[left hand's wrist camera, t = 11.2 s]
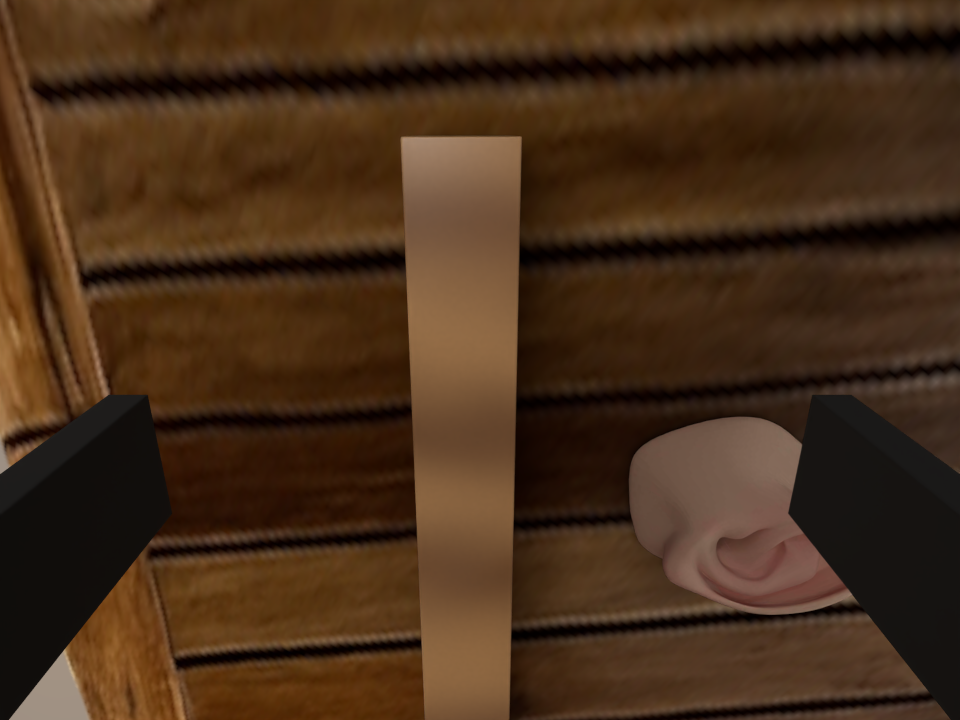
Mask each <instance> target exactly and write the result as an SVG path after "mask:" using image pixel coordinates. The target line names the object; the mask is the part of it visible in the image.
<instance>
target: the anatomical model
mask: <svg viewBox="0 0 960 720" xmlns="http://www.w3.org/2000/svg"><path fill="white" fill-rule="evenodd" d="M801 448H802V444H801V443H800V442H799V441H798V440H797V439H795V438H794V437H793V436H792V435H791V434H790V433H789V432H787V431H786V430H784V429H783V428H782V427H780V426H778V425H776V424H775V423H772V422H770V421H768V420H764V419H761V418H754V417H729V418H720V419H715V420H709V421H705V422H701V423H697V424H693V425H690V426H686V427H683V428H680V429H677V430H674V431H671V432H668V433H666V434H664V435H661V436H659V437H656V438H654V439H652V440H650V441H649V442H647V443H646V444H644V445H643V446H642V447H641V448H640V449H639V450H638V451H637V452H636V453H635V455H634V457H633V459H632V461H631V466H630V473H629V503H630V513H631V517H632V521H633V526H634V530H635V534H636V536H637V539H638V541H639V542H640V544H641V545H642V546H643V547H644V548H645V549H646V550H648V551H649V552H650V553H652V554H654V555H655V556H657V557H659V558H661V559H663V562H662V564H663V570H664V573H665V575H666V576H667V578H668V579H669V580H670V581H671V582H672V583H674V584H676V585H678V586H680V587H682V588H684V589H687V590H689V591H692V592H694V593H697V594H699V595H701V596H704V597H706V598H708V599H711V600H713V601H715V602H718V603H720V604H723V605H726V606H728V607H731V608H734V609H737V610H741V611H745V612H749V613H756V614H768V615H775V614H791V613H799V612H806V611H811V610H815V609H819V608H823V607H826V606H829V605H832V604H834V603H837V602H839V601H841V600H844V599H846V598H848V597H849V596H851V595H852V594H851V592H850V591H849V590H848V589H847V587H846V586H845V585H844V584H843V582H842V581H841V580H840V579H839V577H838V576H837V575H836V573H835V572H834V571H833V570H832V568H831V567H830V566H829V565H828V563H827V562H826V561H825V560H824V558H823V557H822V556H821V555H820V553H819V552H818V551H817V549H816V548H815V547H814V546H813V544H812V543H811V542H810V541H809V539H808V538H807V537H806V536H805V534H804V533H803V532H802V530H801V529H800V528H799V527H798V525H797V524H796V523H795V522H794V520H793V519H792V518H791V517H790V515H789V514H788V511H789V506H790V501H791V496H792V492H793V487H794V482H795V477H796V472H797V467H798V463H799V458H800V453H801Z"/></svg>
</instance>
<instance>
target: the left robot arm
mask: <svg viewBox="0 0 960 720" xmlns="http://www.w3.org/2000/svg"><path fill="white" fill-rule="evenodd" d="M171 514H172V511H171V506H170V501H169V496H168V492H167V487H166V482H165V477H164V472H163V467H162V463H161V458H160V453H159V448H158V443H157V438H156V434H155V429H154V424H153V419H152V414H151V409H150V404H149V400H148V395H108V396H107V397H105V398H104V399H103V400H101V401H100V402H98V403H97V404H96V405H94V406H93V407H92V408H90V409H89V410H88V411H86V412H85V413H83V414H82V415H81V416H79V417H78V418H77V419H75V420H74V421H72V422H71V423H70V424H68V425H67V426H66V427H64V428H63V429H61V430H60V431H59V432H57V433H56V434H55V435H53V436H52V437H51V438H49V439H48V440H46V441H45V442H44V443H42V444H41V445H40V446H38V447H37V448H35V449H34V450H33V451H31V452H30V453H29V454H27V455H26V456H25V457H23V458H22V459H20V460H19V461H18V462H16V463H15V464H14V465H12V466H11V467H9V468H8V469H7V470H5V471H4V472H3V473H1V474H0V720H9V719H10V718H11V716H12V715H13V714H14V713H15V711H16V710H17V709H18V708H19V706H20V705H21V704H22V702H23V701H24V700H25V699H26V697H27V696H28V695H29V694H30V692H31V691H32V690H33V689H34V687H35V686H36V685H37V683H38V682H39V681H40V680H41V678H42V677H43V676H44V675H45V673H46V672H47V671H48V670H49V668H50V667H51V666H52V665H53V663H54V662H55V661H56V659H57V658H58V657H59V656H60V654H61V653H62V652H63V651H64V649H65V648H66V647H67V646H68V644H69V643H70V642H71V641H72V639H73V638H74V637H75V635H76V634H77V633H78V632H79V630H80V629H81V628H82V627H83V625H84V624H85V623H86V622H87V620H88V619H89V618H90V616H91V615H92V614H93V613H94V611H95V610H96V609H97V608H98V606H99V605H100V604H101V603H102V601H103V600H104V599H105V598H106V596H107V595H108V594H109V592H110V591H111V590H112V589H113V587H114V586H115V585H116V584H117V582H118V581H119V580H120V579H121V577H122V576H123V575H124V573H125V572H126V571H127V570H128V568H129V567H130V566H131V565H132V563H133V562H134V561H135V560H136V558H137V557H138V556H139V555H140V553H141V552H142V551H143V549H144V548H145V547H146V546H147V544H148V543H149V542H150V541H151V539H152V538H153V537H154V536H155V534H156V533H157V532H158V530H159V529H160V528H161V527H162V525H163V524H164V523H165V522H166V520H167V519H168V518H169V517H170V515H171ZM788 514H789V515H790V517H791V518H792V519H793V520H794V522H795V523H796V524H797V525H798V527H799V528H800V529H801V530H802V532H803V533H804V534H805V536H806V537H807V538H808V539H809V541H810V542H811V543H812V544H813V546H814V547H815V548H816V549H817V551H818V552H819V553H820V555H821V556H822V557H823V558H824V560H825V561H826V562H827V563H828V565H829V566H830V567H831V568H832V570H833V571H834V572H835V573H836V575H837V576H838V577H839V579H840V580H841V581H842V582H843V584H844V585H845V586H846V587H847V589H848V590H849V591H850V592H851V594H852V595H853V596H854V598H855V599H856V600H857V601H858V603H859V604H860V605H861V606H862V608H863V609H864V610H865V611H866V613H867V614H868V615H869V616H870V618H871V619H872V620H873V622H874V623H875V624H876V625H877V627H878V628H879V629H880V630H881V632H882V633H883V634H884V635H885V637H886V638H887V639H888V641H889V642H890V643H891V644H892V646H893V647H894V648H895V649H896V651H897V652H898V653H899V654H900V656H901V657H902V658H903V659H904V661H905V662H906V663H907V665H908V666H909V667H910V668H911V670H912V671H913V672H914V673H915V675H916V676H917V677H918V678H919V680H920V681H921V682H922V684H923V685H924V686H925V687H926V689H927V690H928V691H929V692H930V694H931V695H932V696H933V697H934V699H935V700H936V701H937V702H938V704H939V705H940V706H941V708H942V709H943V710H944V711H945V713H946V714H947V715H948V716H949V718H950V719H951V720H960V474H959V473H957V472H956V471H955V470H953V469H952V468H951V467H949V466H948V465H946V464H945V463H944V462H942V461H941V460H940V459H938V458H937V457H935V456H934V455H933V454H931V453H930V452H929V451H927V450H926V449H925V448H923V447H922V446H920V445H919V444H918V443H916V442H915V441H914V440H912V439H911V438H909V437H908V436H907V435H905V434H904V433H903V432H901V431H900V430H899V429H897V428H896V427H894V426H893V425H892V424H890V423H889V422H888V421H886V420H885V419H883V418H882V417H881V416H879V415H878V414H877V413H875V412H874V411H872V410H871V409H870V408H868V407H867V406H866V405H864V404H863V403H862V402H860V401H859V400H857V399H856V398H855V397H853V396H852V395H812V400H811V404H810V409H809V414H808V419H807V424H806V429H805V434H804V438H803V443H802V448H801V453H800V458H799V463H798V467H797V472H796V477H795V482H794V487H793V492H792V496H791V501H790V506H789V511H788Z"/></svg>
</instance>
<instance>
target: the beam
mask: <svg viewBox="0 0 960 720" xmlns="http://www.w3.org/2000/svg"><path fill="white" fill-rule="evenodd" d="M521 153H522V138H521V137H519V136H509V135H416V136H404V137H401V161H402V184H403V208H404V232H405V256H406V280H407V304H408V328H409V352H410V375H411V399H412V423H413V447H414V471H415V495H416V519H417V543H418V567H419V590H420V614H421V638H422V662H423V686H424V710H425V720H509V715H510V668H511V622H512V575H513V528H514V481H515V434H516V387H517V340H518V293H519V246H520V200H521Z"/></svg>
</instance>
